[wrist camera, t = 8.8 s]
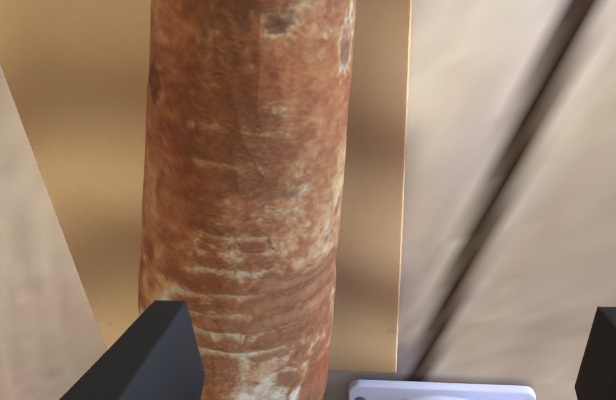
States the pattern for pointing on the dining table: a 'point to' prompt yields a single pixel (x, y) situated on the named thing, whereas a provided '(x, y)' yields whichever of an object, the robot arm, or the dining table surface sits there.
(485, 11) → the dining table surface
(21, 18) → the board
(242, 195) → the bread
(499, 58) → the dining table surface
